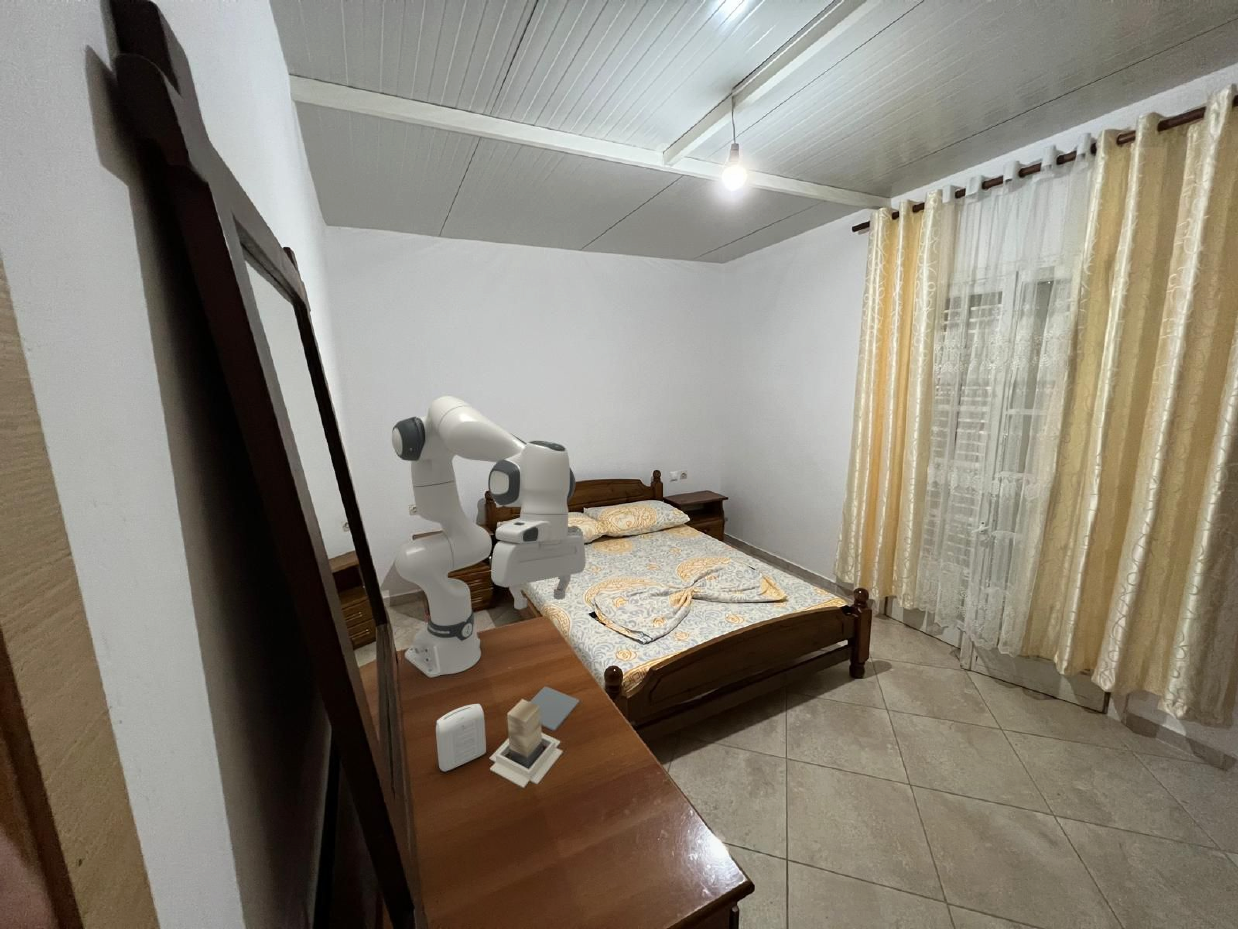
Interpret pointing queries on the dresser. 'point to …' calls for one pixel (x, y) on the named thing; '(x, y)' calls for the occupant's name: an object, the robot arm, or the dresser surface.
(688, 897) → the dresser surface
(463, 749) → the photo printer
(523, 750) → the block
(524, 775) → the flanged square frame
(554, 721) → the slate mat
